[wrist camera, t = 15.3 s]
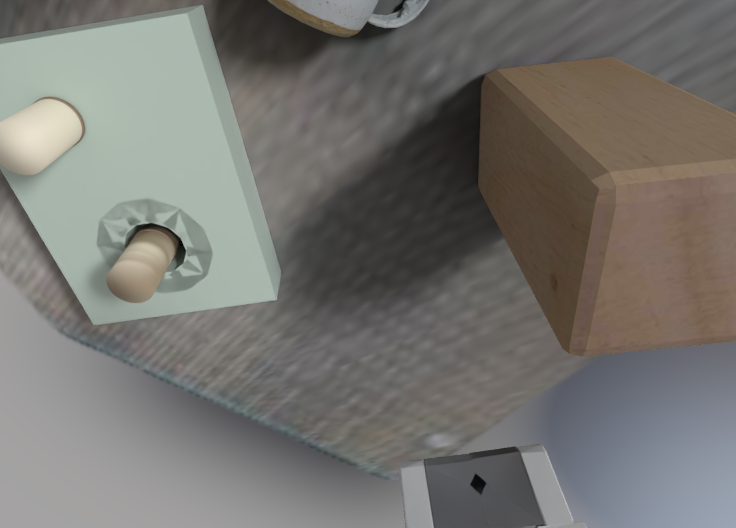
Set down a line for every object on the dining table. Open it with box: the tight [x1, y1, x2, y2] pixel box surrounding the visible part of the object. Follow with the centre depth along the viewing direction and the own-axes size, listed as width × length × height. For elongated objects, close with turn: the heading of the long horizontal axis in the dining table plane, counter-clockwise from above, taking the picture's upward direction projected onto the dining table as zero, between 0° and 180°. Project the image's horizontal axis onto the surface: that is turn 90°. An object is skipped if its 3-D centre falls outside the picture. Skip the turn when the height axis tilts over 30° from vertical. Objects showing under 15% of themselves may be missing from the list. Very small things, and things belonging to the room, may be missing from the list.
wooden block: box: [478, 57, 736, 356], centre depth 30 cm, size 10×10×20 cm
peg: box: [106, 223, 181, 303], centre depth 38 cm, size 3×3×9 cm
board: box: [0, 5, 281, 325], centre depth 36 cm, size 22×16×9 cm
